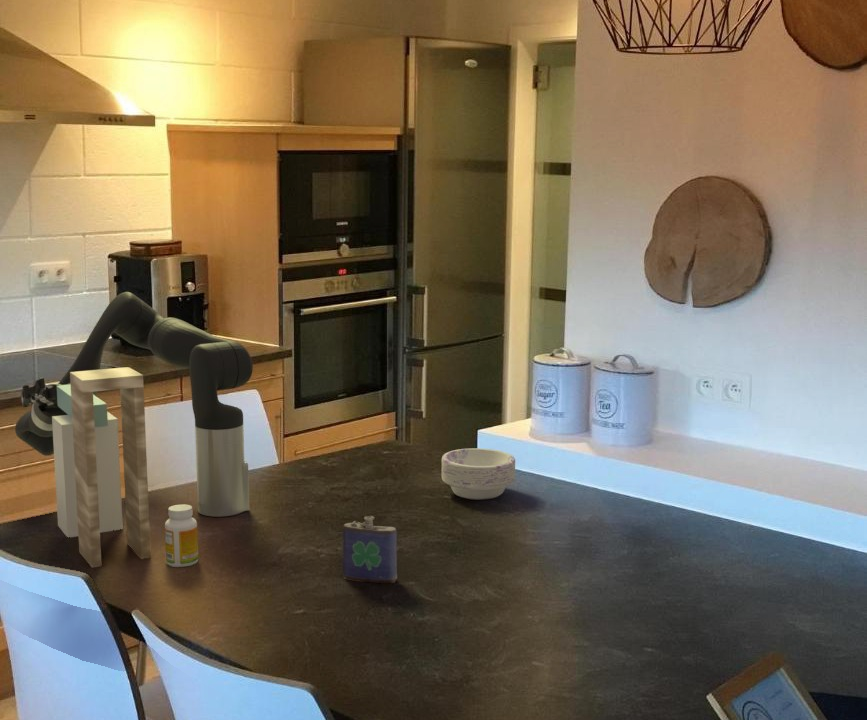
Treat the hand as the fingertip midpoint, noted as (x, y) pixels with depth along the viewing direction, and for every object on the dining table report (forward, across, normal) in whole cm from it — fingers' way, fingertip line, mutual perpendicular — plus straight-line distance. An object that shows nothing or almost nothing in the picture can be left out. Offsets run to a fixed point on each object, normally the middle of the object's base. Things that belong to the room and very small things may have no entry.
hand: (65, 380), depth 219 cm
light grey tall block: (-1, 0, +29) cm, 29 cm away
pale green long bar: (+8, 0, +10) cm, 13 cm away
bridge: (+14, 0, +38) cm, 41 cm away
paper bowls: (+14, +75, +38) cm, 85 cm away
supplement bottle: (+22, +9, +43) cm, 49 cm away
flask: (+42, +33, +54) cm, 77 cm away
